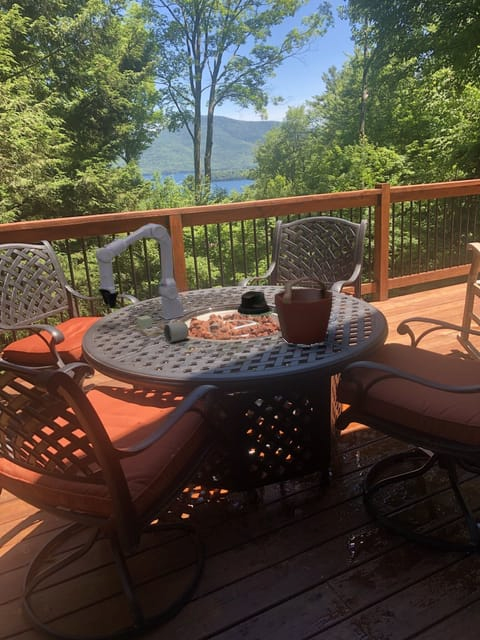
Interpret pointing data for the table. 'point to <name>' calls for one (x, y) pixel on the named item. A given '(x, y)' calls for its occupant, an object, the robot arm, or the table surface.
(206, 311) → the table surface
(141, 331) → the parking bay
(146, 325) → the sage block
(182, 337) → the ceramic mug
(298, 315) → the bucket
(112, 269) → the robot arm
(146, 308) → the table surface
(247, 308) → the dark fedora hat
